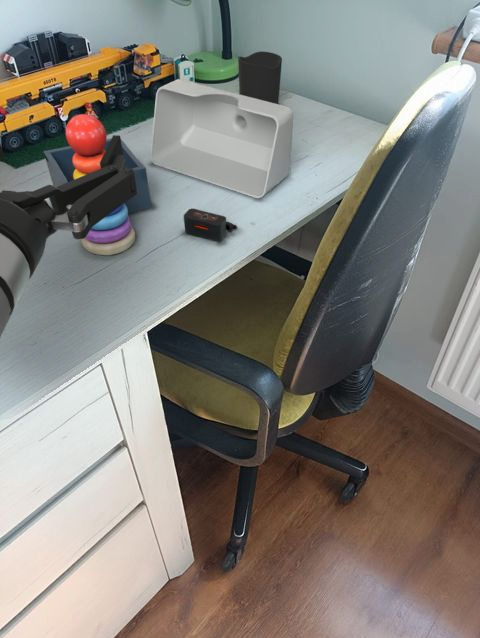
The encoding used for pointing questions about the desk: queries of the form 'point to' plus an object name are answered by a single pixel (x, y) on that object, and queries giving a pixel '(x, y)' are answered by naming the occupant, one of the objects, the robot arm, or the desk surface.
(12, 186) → the desk surface
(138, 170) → the square holder
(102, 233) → the stacking toy
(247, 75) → the pen holder
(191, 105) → the light grey open box
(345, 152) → the desk surface
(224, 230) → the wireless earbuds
